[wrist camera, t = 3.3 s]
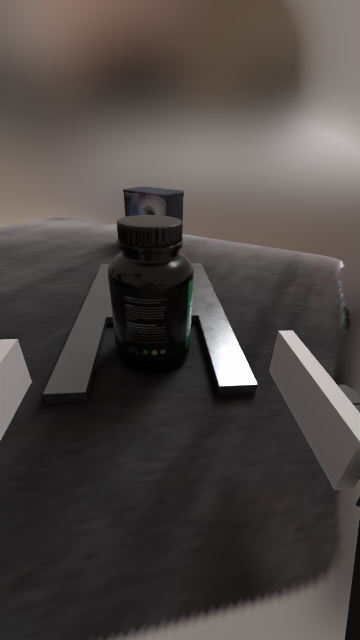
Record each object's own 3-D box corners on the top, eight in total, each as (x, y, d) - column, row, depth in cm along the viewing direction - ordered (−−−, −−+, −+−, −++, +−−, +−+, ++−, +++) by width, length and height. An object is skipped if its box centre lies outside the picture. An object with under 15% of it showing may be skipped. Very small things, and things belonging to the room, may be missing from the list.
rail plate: (255, 393, 22) (257, 382, 21) (45, 403, 21) (42, 392, 20) (200, 269, 46) (201, 262, 45) (102, 269, 45) (101, 262, 44)
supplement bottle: (203, 351, 27) (215, 221, 21) (150, 388, 22) (145, 236, 16) (155, 324, 31) (152, 209, 24) (102, 351, 26) (83, 218, 20)
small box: (124, 242, 59) (120, 188, 54) (144, 236, 64) (142, 186, 58) (165, 251, 54) (165, 193, 49) (183, 244, 59) (185, 190, 54)
